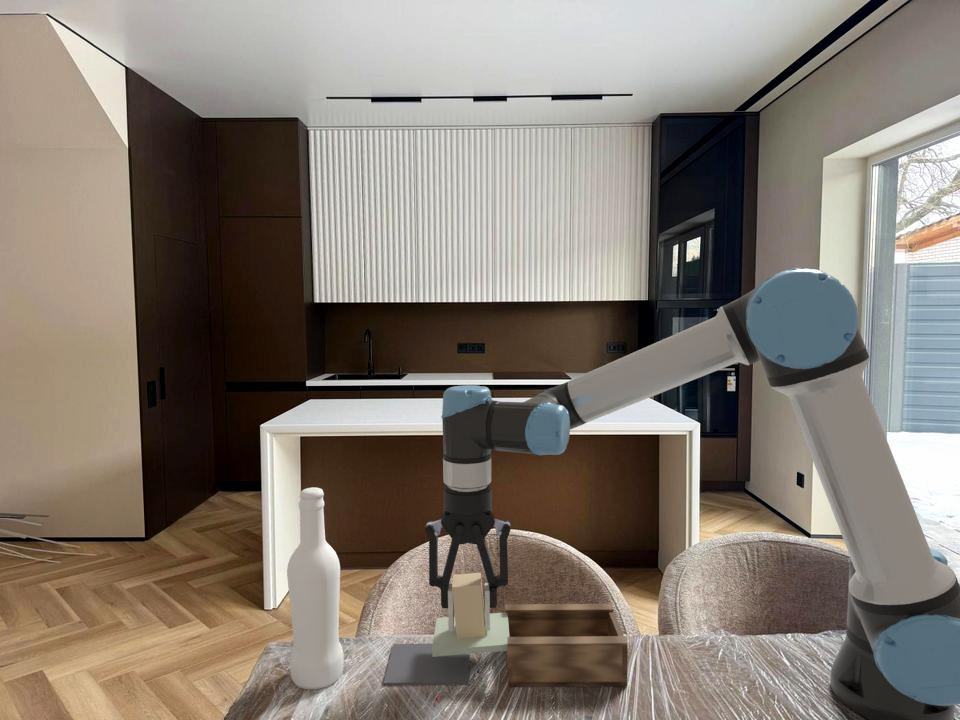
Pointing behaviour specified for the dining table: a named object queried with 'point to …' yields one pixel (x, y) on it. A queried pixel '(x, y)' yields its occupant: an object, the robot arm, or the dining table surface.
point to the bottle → (314, 599)
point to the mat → (425, 667)
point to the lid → (470, 622)
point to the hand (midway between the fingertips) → (469, 625)
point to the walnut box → (565, 646)
